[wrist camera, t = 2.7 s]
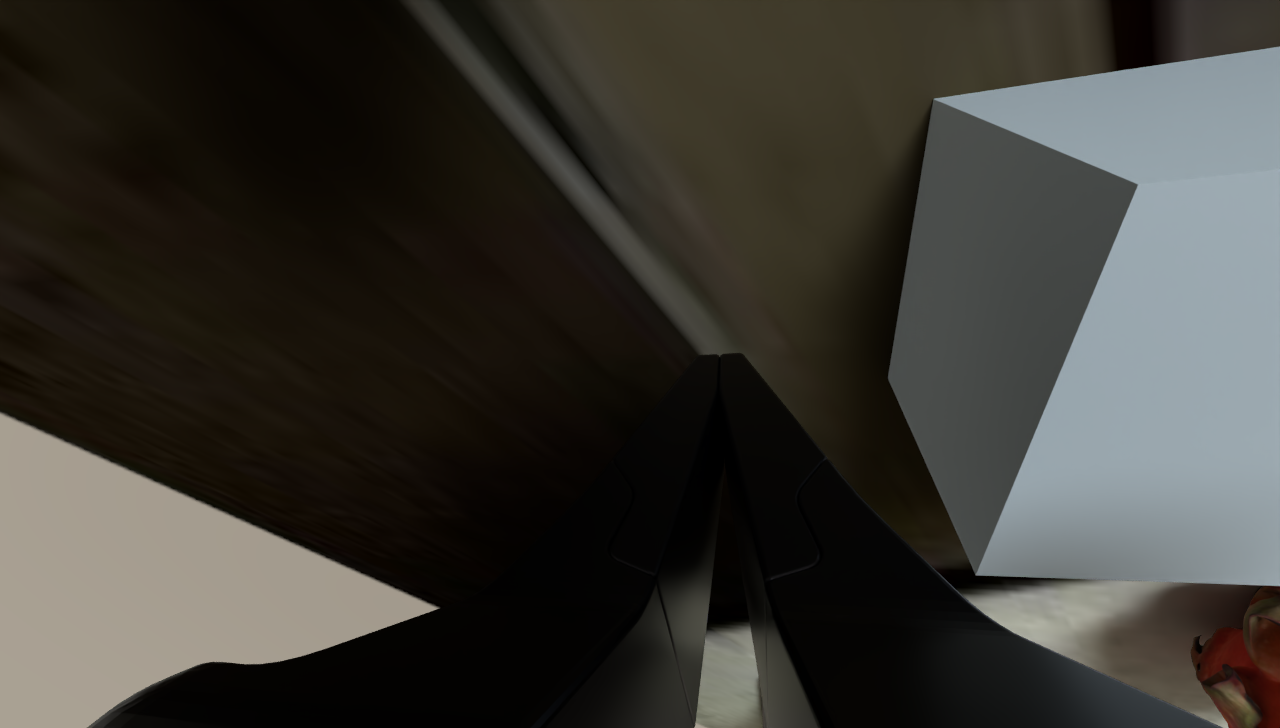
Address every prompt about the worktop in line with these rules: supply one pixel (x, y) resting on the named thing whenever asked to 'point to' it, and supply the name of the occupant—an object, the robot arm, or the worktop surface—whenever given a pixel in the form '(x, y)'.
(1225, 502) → the slate block
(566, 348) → the worktop surface
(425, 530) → the worktop surface
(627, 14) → the worktop surface
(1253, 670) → the dragon fruit
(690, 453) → the robot arm
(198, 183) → the worktop surface
